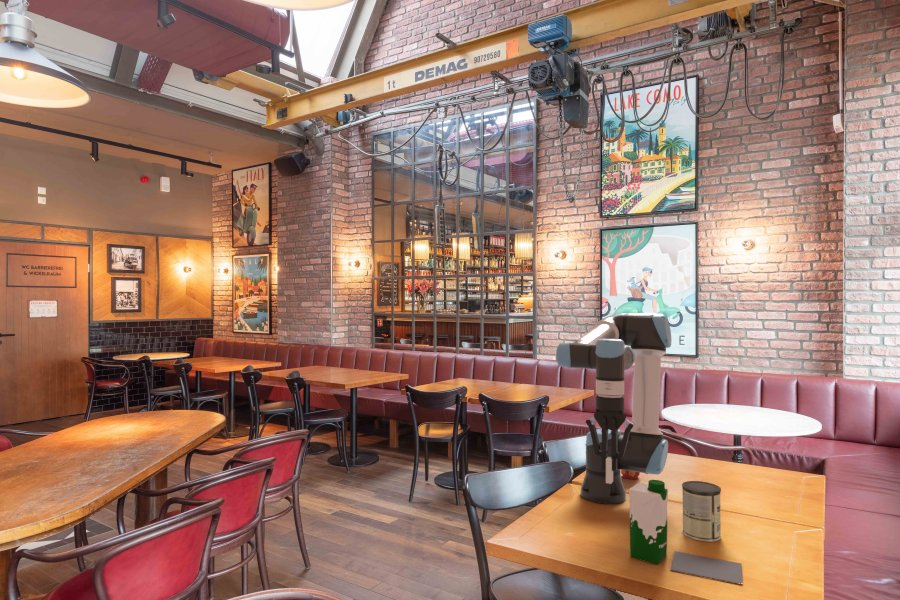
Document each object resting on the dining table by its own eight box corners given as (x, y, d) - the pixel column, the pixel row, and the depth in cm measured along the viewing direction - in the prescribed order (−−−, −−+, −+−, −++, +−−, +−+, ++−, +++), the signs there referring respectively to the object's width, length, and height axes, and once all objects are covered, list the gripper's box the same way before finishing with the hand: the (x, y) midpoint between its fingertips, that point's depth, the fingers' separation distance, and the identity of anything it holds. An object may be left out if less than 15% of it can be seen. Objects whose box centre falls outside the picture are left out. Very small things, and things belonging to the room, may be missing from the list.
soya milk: (659, 567, 140) (659, 488, 141) (625, 557, 146) (625, 480, 146) (671, 555, 147) (671, 480, 147) (637, 546, 153) (637, 473, 153)
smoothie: (642, 475, 218) (642, 424, 218) (640, 481, 210) (640, 428, 211) (620, 472, 221) (620, 422, 222) (617, 478, 214) (617, 426, 214)
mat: (670, 570, 139) (670, 569, 139) (674, 552, 149) (674, 550, 149) (742, 585, 131) (742, 584, 131) (741, 564, 142) (741, 563, 142)
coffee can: (680, 525, 167) (680, 479, 168) (718, 530, 164) (718, 482, 164) (683, 539, 158) (683, 489, 158) (723, 544, 154) (723, 493, 155)
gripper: (582, 395, 151) (582, 482, 151) (632, 399, 145) (632, 489, 145) (588, 392, 158) (588, 475, 157) (636, 395, 152) (636, 481, 152)
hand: (609, 482), depth 151 cm, fingers closed
